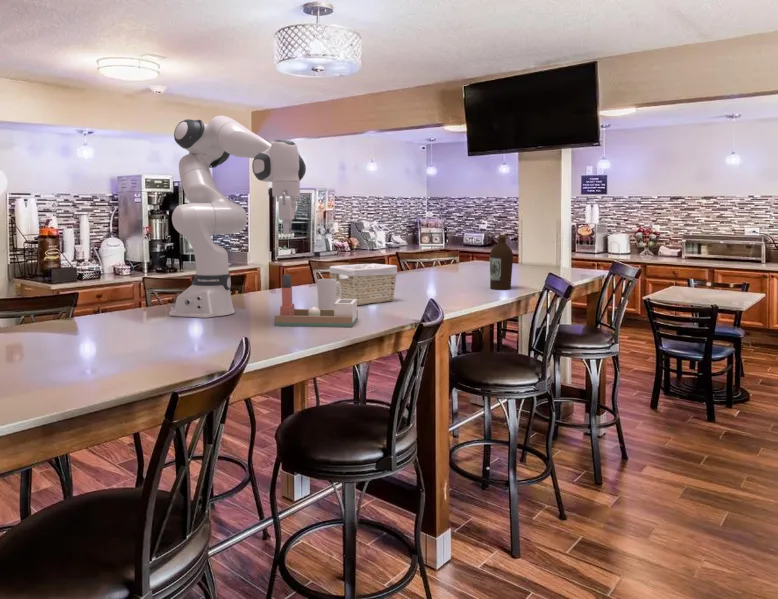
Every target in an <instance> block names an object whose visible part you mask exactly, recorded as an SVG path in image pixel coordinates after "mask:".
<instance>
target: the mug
mask: <svg viewBox="0 0 778 599" xmlns="http://www.w3.org/2000/svg"><path fill="white" fill-rule="evenodd" d="M316 281H317V282H316V284H317V288H316V289H317V308H319V309H326V310H334V303H335V302H336V301H337V300H339V299H341V294H342V290H341V286H340V283H339V282H336V279H331V278H319V279H317V280H316ZM336 286H337V287H338V290H339V295H338V298H337V299H336Z"/></svg>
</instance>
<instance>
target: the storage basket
mask: <svg viewBox="0 0 778 599" xmlns="http://www.w3.org/2000/svg"><path fill="white" fill-rule="evenodd" d="M397 274H398V265H395V264H386V263H385V264H384V263H383V264H382V263H373V262H372V263H356V264H342V265H341V264H340V265H331V266H329V279H336V282H339V283H340V286H341V290H342V294H341V299H357V306H361V305H369V304H370V305H371V304H380V303H384V302H386V303H388V302H391V301H394V298H395V297H394V296H395V292H396V282H397V279H396V278H397ZM338 295H339V290H338V287H337V286H336V299H337V298H338ZM387 301H388V302H387Z"/></svg>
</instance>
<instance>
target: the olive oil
mask: <svg viewBox="0 0 778 599" xmlns="http://www.w3.org/2000/svg"><path fill="white" fill-rule="evenodd" d="M506 236H507V235H506V234H498V238H497V240H498V241H497V244H496V245H495V246H494V247H493V248H492V249H491V250H490V253H489V280H490V281H489V282H490V283H489V286H490V289H491V290H496V291H497V290H498V291H508V290H511V289H512V276H513V275H512V274H513V265H514V253H513V250H512V249H511V247H510V246H509V245H508V244H507V243H506V241H507V240H506Z"/></svg>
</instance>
